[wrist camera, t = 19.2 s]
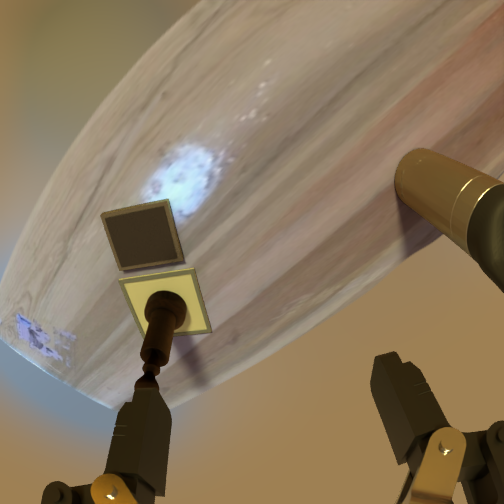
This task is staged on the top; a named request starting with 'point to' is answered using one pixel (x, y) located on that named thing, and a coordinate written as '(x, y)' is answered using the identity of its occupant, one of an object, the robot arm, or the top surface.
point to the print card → (173, 281)
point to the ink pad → (143, 235)
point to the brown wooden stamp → (159, 333)
